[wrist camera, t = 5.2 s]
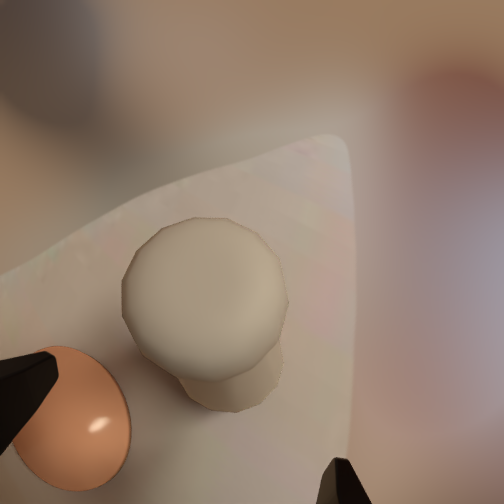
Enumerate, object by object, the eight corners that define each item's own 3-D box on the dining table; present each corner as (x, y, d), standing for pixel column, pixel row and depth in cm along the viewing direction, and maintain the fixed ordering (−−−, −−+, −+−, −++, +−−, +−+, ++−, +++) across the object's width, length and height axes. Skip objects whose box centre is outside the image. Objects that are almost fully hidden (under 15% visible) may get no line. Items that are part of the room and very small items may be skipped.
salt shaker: (166, 380, 18) (41, 312, 7) (214, 305, 20) (170, 154, 9) (250, 429, 17) (245, 460, 5) (296, 348, 19) (361, 236, 8)
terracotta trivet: (106, 515, 13) (101, 518, 13) (0, 438, 15) (-7, 438, 14) (153, 387, 18) (149, 385, 17) (40, 326, 19) (34, 323, 19)
